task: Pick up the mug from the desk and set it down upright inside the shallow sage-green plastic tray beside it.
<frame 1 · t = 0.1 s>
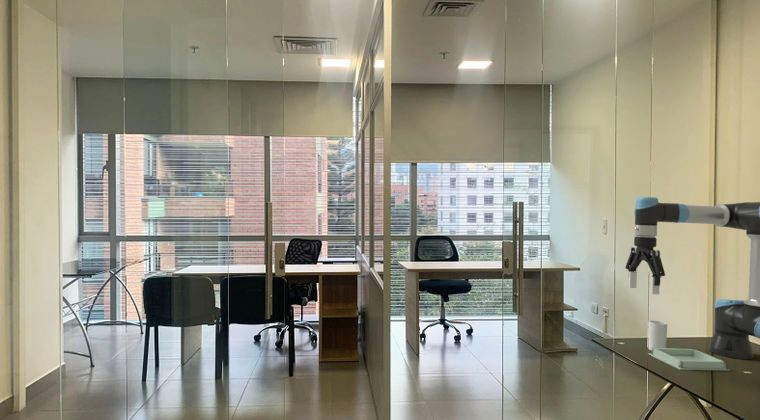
hand: (643, 290, 174), 28 cm above the table, tool pointing down, fingers open, 13 cm apart
tray: (687, 362, 177), on the table
mug: (657, 349, 193), on the table
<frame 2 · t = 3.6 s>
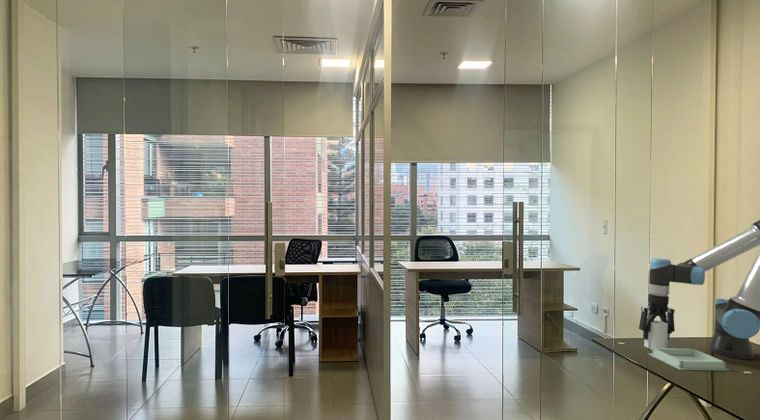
hand: (655, 347, 193), 1 cm above the table, tool pointing down, fingers closed on mug, 7 cm apart
mug: (657, 349, 193), on the table, touching gripper
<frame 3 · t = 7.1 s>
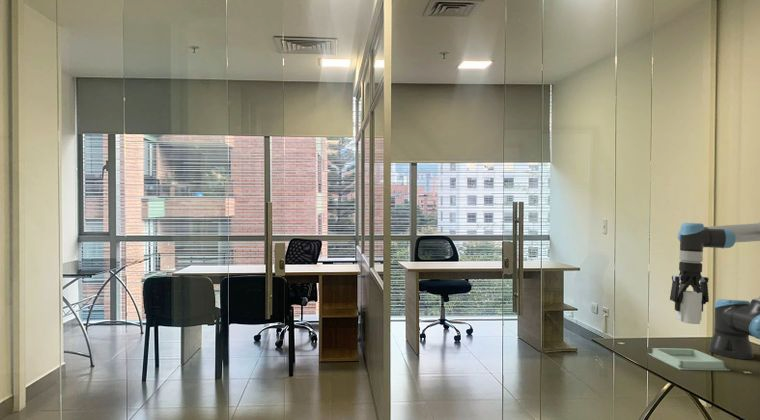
hand: (688, 319, 177), 17 cm above the table, tool pointing down, fingers closed on mug, 7 cm apart
mug: (690, 322, 177), point 16 cm above the table, touching gripper
when the fingers open (3 cm above the table, at t = 10.1 s): mug drops 1 cm, resting on tray.
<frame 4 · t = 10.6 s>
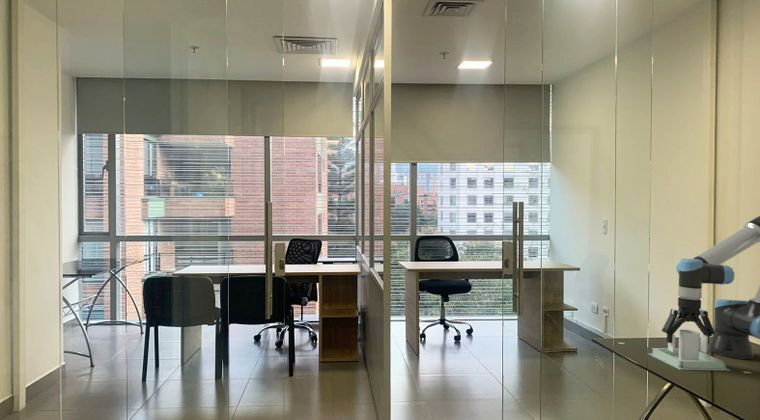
hand: (687, 351, 177), 4 cm above the table, tool pointing down, fingers open, 13 cm apart
mug: (688, 361, 177), resting on tray
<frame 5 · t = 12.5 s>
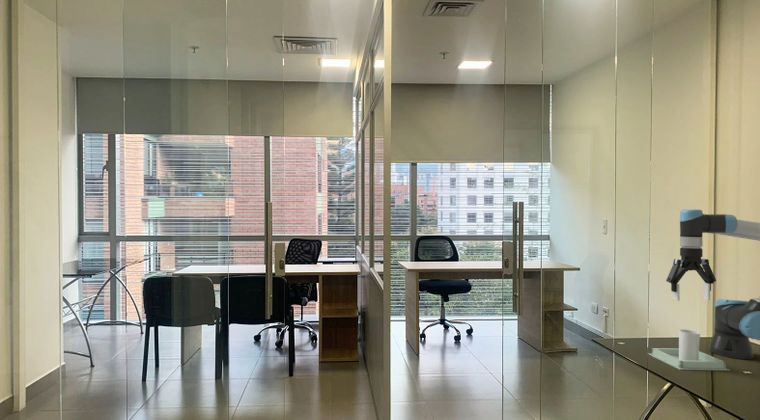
hand: (691, 299, 181), 24 cm above the table, tool pointing down, fingers open, 13 cm apart
nothing on the table moved.
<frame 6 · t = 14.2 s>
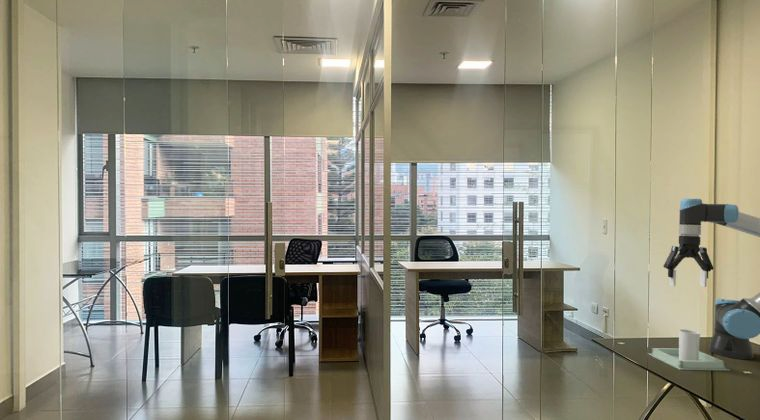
hand: (687, 285, 187), 29 cm above the table, tool pointing down, fingers open, 13 cm apart
nothing on the table moved.
at the end: mug inside the target area on the tray (0.4 cm from its centre), point 0.2 cm above the tray's base; mug tilted 0°; the gripper is holding nothing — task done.
